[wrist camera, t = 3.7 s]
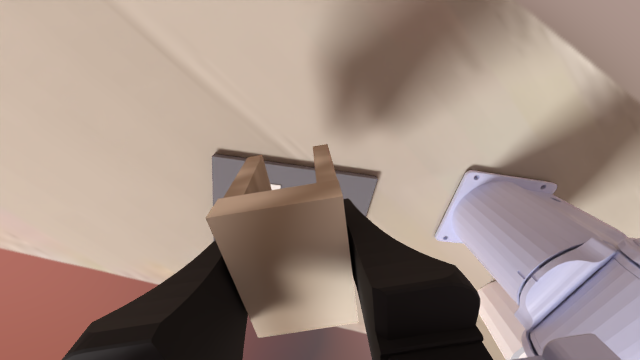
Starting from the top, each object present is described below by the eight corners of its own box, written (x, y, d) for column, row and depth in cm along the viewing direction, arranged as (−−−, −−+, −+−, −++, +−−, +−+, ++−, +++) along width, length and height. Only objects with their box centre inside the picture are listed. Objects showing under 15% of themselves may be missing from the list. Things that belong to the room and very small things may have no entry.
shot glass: (466, 317, 32) (506, 379, 26) (469, 283, 29) (514, 344, 23) (518, 306, 32) (571, 367, 25) (526, 270, 29) (589, 329, 22)
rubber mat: (375, 176, 22) (377, 179, 21) (350, 258, 26) (351, 263, 25) (214, 153, 20) (211, 156, 19) (216, 246, 24) (213, 251, 23)
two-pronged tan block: (326, 140, 13) (342, 196, 8) (340, 233, 16) (358, 322, 10) (246, 153, 13) (205, 218, 8) (274, 244, 16) (258, 337, 10)
